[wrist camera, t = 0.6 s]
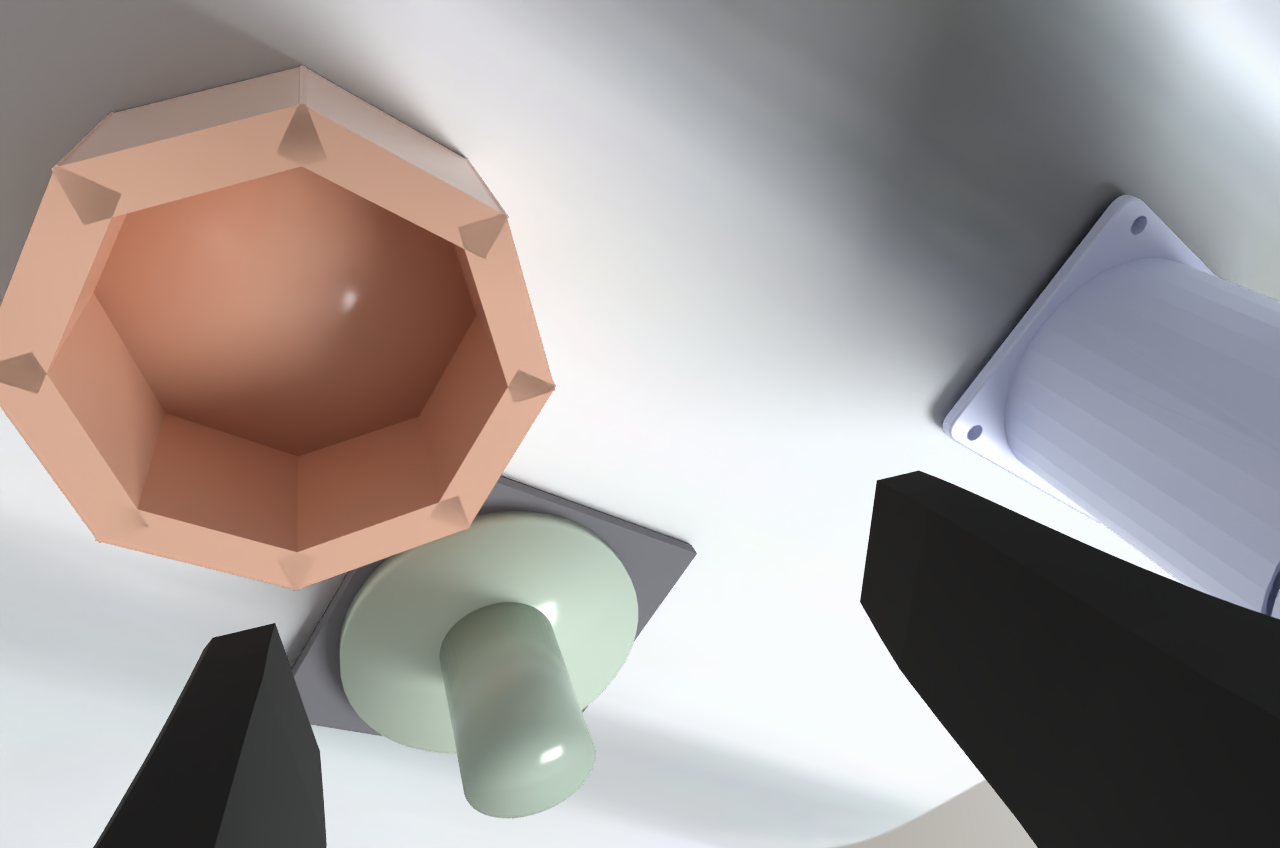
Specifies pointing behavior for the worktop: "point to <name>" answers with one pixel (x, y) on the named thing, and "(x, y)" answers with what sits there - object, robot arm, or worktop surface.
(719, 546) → the worktop surface
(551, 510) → the mat
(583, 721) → the lid
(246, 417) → the bowl
